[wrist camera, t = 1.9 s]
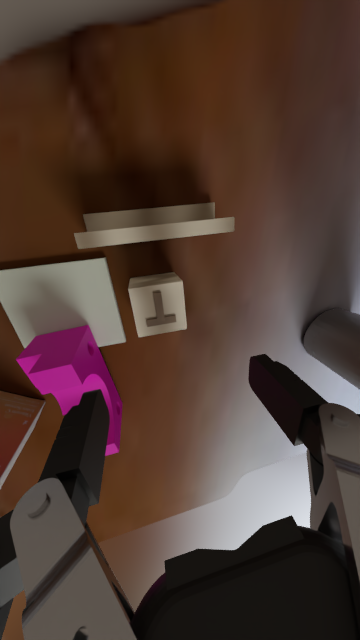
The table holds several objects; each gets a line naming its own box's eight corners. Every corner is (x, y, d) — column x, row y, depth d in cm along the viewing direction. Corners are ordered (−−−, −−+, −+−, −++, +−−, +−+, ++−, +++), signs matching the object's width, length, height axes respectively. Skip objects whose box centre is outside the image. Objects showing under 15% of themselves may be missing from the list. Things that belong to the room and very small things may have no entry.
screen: (211, 203, 22) (234, 193, 17) (212, 232, 24) (234, 231, 18) (85, 215, 20) (66, 208, 15) (93, 245, 22) (78, 248, 16)
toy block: (35, 336, 23) (-3, 381, 17) (88, 324, 24) (71, 364, 18) (82, 413, 31) (68, 466, 24) (122, 403, 31) (119, 451, 25)
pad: (105, 257, 22) (104, 258, 22) (126, 339, 27) (125, 341, 26) (-10, 271, 21) (-15, 272, 20) (33, 355, 25) (30, 359, 25)
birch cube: (173, 272, 25) (182, 281, 20) (178, 311, 27) (187, 329, 22) (130, 277, 24) (128, 289, 19) (138, 318, 26) (138, 338, 21)
